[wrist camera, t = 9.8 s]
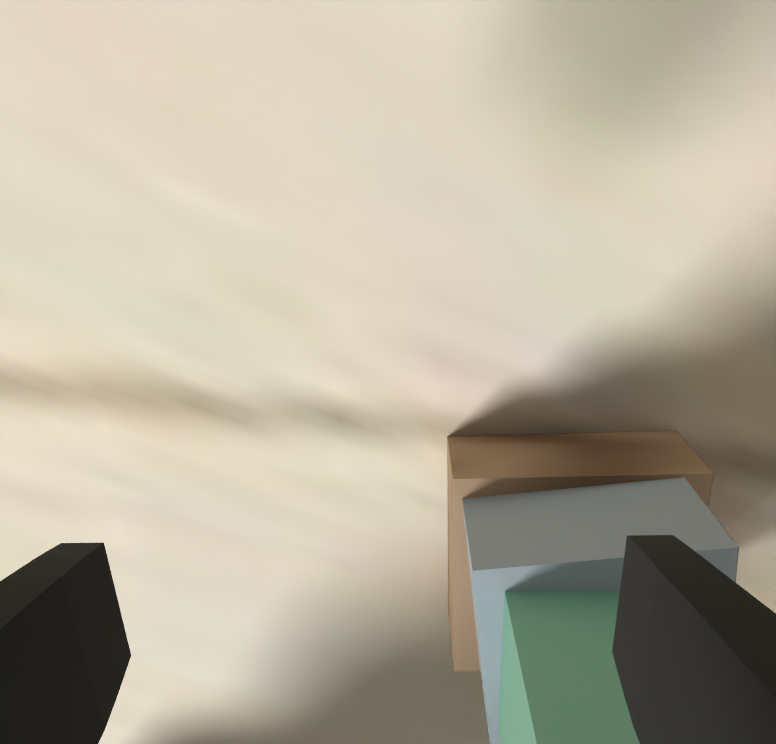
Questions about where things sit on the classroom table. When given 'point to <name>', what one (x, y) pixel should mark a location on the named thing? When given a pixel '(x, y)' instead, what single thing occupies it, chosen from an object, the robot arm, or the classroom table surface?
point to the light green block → (561, 670)
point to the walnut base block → (546, 472)
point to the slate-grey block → (572, 549)
